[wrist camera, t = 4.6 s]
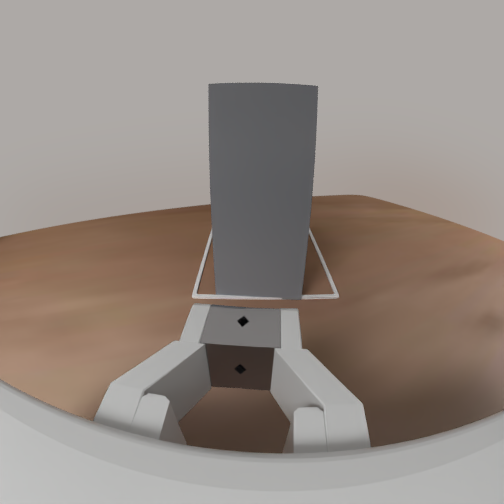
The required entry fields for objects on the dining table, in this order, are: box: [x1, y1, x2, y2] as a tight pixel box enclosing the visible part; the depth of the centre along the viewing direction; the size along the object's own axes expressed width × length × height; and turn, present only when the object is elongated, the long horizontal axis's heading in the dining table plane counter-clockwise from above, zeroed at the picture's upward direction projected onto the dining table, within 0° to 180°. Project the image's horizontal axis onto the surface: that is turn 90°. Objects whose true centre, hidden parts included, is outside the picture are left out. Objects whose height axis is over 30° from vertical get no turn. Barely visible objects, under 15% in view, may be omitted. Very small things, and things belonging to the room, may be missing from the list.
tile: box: [209, 83, 318, 300], centre depth 18 cm, size 6×2×14 cm, turn 86°
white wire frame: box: [192, 228, 339, 299], centre depth 28 cm, size 11×1×18 cm
